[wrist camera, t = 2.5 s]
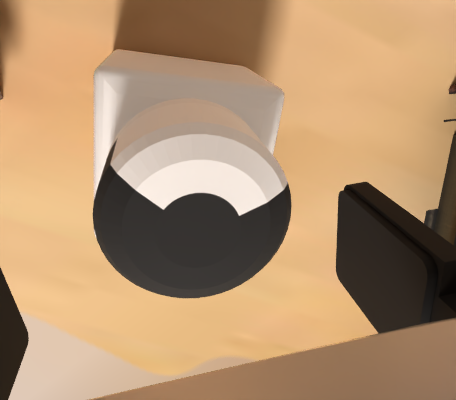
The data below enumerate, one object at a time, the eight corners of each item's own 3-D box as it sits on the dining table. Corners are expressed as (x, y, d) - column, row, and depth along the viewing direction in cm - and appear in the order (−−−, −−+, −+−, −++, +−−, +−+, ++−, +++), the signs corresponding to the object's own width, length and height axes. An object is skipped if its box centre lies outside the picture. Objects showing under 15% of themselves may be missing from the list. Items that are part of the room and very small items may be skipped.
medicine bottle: (229, 185, 24) (289, 325, 13) (109, 177, 22) (70, 328, 12) (248, 66, 21) (344, 122, 10) (112, 47, 20) (62, 92, 9)
